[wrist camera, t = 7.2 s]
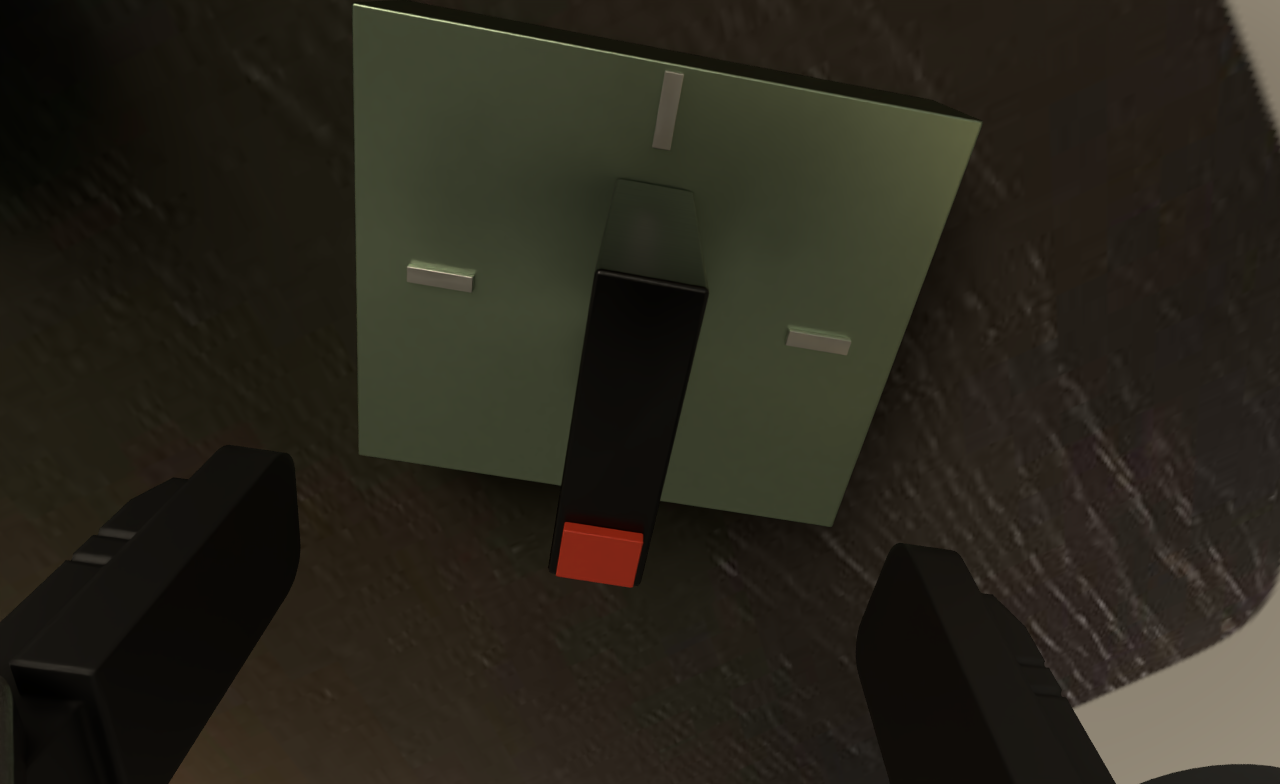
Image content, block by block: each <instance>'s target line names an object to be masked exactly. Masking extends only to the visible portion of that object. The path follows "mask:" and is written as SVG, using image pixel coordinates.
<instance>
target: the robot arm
mask: <svg viewBox="0 0 1280 784" xmlns="http://www.w3.org/2000/svg"><path fill="white" fill-rule="evenodd" d="M299 558H300V532H299V518H298V505H297V491H296V478H295V467H294V462H293V459H292V457H291V456H290V455H289V454H287V453H282V452H275V451H268V450H261V449H254V448H247V447H240V446H233V445H226V446H223V447H221V448H220V449H219V450H218V451H216V452H215V453H214V454H213V456H212V457H211V458H210V459H209V460H208V461H207V462H206V463H205V464H204V465H203V466H202V467H201V468H200V469H199V470H198V471H197V472H196V473H195V474H194V475H193V476H192V477H191V478H190V479H189V480H188V479H181V478H172V479H170V480H168V481H166V482H164V483H162V484H160V485H158V486H156V487H154V488H152V489H150V490H148V491H147V492H145V493H143V494H141V495H139V496H137V497H135V498H133V499H131V500H130V501H129V502H128V503H127V504H126V505H124V506H123V507H122V508H121V509H120V510H119V511H118V512H117V513H116V514H115V515H114V516H113V517H112V518H111V519H110V520H108V521H107V522H106V523H105V524H104V525H103V526H102V527H101V528H100V529H99V534H98V535H93V536H91V537H90V538H89V539H88V540H87V541H86V542H85V543H84V544H83V545H82V546H81V547H80V548H79V549H78V550H77V551H76V552H74V553H73V558H72V560H71V561H67V560H66V561H65V562H64V563H63V564H62V565H61V566H60V567H59V568H57V569H56V570H55V571H54V572H53V573H52V574H51V575H50V576H49V577H48V578H47V579H46V580H45V581H44V582H43V583H42V584H40V585H39V586H38V587H37V588H36V589H35V590H34V591H33V592H32V593H31V594H30V595H29V596H28V597H27V598H26V599H25V600H23V601H22V602H21V603H20V604H19V605H18V606H17V607H16V608H15V609H14V610H13V611H12V612H11V613H10V614H9V615H8V616H6V617H5V618H4V619H3V620H2V621H1V622H0V784H168V783H169V782H170V780H171V778H172V777H173V775H174V774H175V772H176V771H177V769H178V767H179V766H180V764H181V763H182V761H183V759H184V758H185V756H186V755H187V753H188V752H189V750H190V748H191V747H192V745H193V744H194V742H195V740H196V739H197V737H198V736H199V734H200V732H201V731H202V729H203V728H204V726H205V725H206V723H207V721H208V720H209V718H210V717H211V715H212V713H213V712H214V710H215V709H216V707H217V705H218V704H219V702H220V701H221V699H222V698H223V696H224V694H225V693H226V691H227V690H228V688H229V686H230V685H231V683H232V682H233V680H234V679H235V677H236V675H237V674H238V672H239V671H240V669H241V667H242V666H243V664H244V663H245V661H246V659H247V658H248V656H249V655H250V653H251V652H252V650H253V648H254V647H255V645H256V644H257V642H258V640H259V639H260V637H261V636H262V634H263V632H264V631H265V629H266V628H267V626H268V625H269V623H270V621H271V620H272V618H273V617H274V615H275V613H276V612H277V610H278V609H279V607H280V605H281V604H282V602H283V601H284V599H285V598H286V596H287V594H288V592H289V591H290V588H291V586H292V584H293V581H294V579H295V576H296V572H297V568H298V564H299ZM1044 662H1045V660H1044V659H1043V657H1042V655H1041V653H1040V652H1039V650H1038V648H1037V646H1036V645H1035V643H1034V641H1033V640H1032V638H1031V636H1030V634H1029V633H1028V631H1027V629H1026V627H1025V626H1024V625H1023V624H1022V623H1021V622H1020V621H1019V620H1018V619H1017V618H1016V617H1015V616H1014V615H1013V614H1012V613H1011V612H1010V611H1009V610H1008V609H1007V608H1006V607H1005V606H1004V605H1003V604H1002V603H1001V602H1000V601H998V600H997V599H996V598H995V597H994V596H993V595H990V594H983V593H980V591H979V589H978V587H977V585H976V583H975V581H974V580H973V578H972V576H971V574H970V572H969V570H968V568H967V566H966V565H965V563H964V561H963V559H962V558H961V556H960V555H959V554H958V553H957V552H955V551H952V550H945V549H938V548H931V547H924V546H917V545H910V544H903V543H898V544H896V545H894V546H893V547H892V549H891V550H890V552H889V554H888V556H887V558H886V561H885V563H884V566H883V568H882V571H881V573H880V576H879V578H878V581H877V583H876V586H875V588H874V591H873V593H872V596H871V598H870V601H869V603H868V606H867V608H866V611H865V613H864V615H863V618H862V620H861V623H860V626H859V630H858V634H857V641H856V663H857V670H858V674H859V678H860V681H861V684H862V688H863V691H864V695H865V698H866V702H867V705H868V709H869V712H870V715H871V719H872V722H873V726H874V729H875V733H876V736H877V739H878V743H879V746H880V750H881V753H882V757H883V760H884V764H885V767H886V770H887V774H888V777H889V781H890V784H1116V783H1115V781H1114V780H1113V778H1112V776H1111V774H1110V773H1109V771H1108V769H1107V768H1106V766H1105V764H1104V763H1103V761H1102V759H1101V757H1100V755H1099V754H1098V752H1097V750H1096V748H1095V747H1094V745H1093V743H1092V742H1091V740H1090V738H1089V736H1088V735H1087V733H1086V731H1085V730H1084V728H1083V726H1082V724H1081V723H1080V721H1079V719H1078V717H1077V716H1076V714H1075V712H1074V710H1073V709H1072V707H1071V705H1070V704H1069V702H1068V700H1067V698H1065V697H1062V696H1061V688H1060V686H1059V684H1058V683H1057V681H1056V679H1055V678H1054V676H1053V674H1052V672H1051V671H1050V669H1049V668H1046V667H1045V666H1044Z"/></svg>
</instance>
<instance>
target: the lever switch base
mask: <svg viewBox="0 0 1280 784" xmlns="http://www.w3.org/2000/svg"><path fill="white" fill-rule="evenodd" d="M352 39H353V109H354V179H355V249H356V319H357V389H358V453H359V455H363V456H369V457H376V458H382V459H389V460H396V461H402V462H409V463H415V464H422V465H428V466H435V467H441V468H448V469H454V470H461V471H468V472H474V473H481V474H487V475H494V476H500V477H507V478H513V479H520V480H526V481H533V482H540V483H546V484H553V485H559V486H561V483H562V476H563V470H564V463H565V457H566V451H567V444H568V438H569V431H570V425H571V419H572V412H573V406H574V399H575V393H576V386H577V380H578V374H579V367H580V361H581V354H582V348H583V342H584V335H585V329H586V322H587V316H588V310H589V303H590V297H591V290H592V284H593V278H594V272H595V267H596V263H597V259H598V254H599V250H600V246H601V241H602V237H603V233H604V228H605V224H606V220H607V216H608V211H609V207H610V203H611V198H612V194H613V190H614V185H615V182H616V180H617V179H624V180H629V181H635V182H640V183H646V184H651V185H656V186H662V187H667V188H672V189H678V190H683V191H689V192H692V193H693V194H694V199H695V206H696V212H697V218H698V224H699V231H700V237H701V243H702V250H703V256H704V262H705V268H706V275H707V281H708V287H709V297H708V302H707V306H706V310H705V314H704V319H703V323H702V327H701V331H700V335H699V340H698V344H697V348H696V352H695V356H694V361H693V365H692V369H691V373H690V377H689V382H688V386H687V390H686V394H685V398H684V403H683V407H682V411H681V415H680V419H679V424H678V428H677V432H676V436H675V441H674V445H673V449H672V453H671V457H670V462H669V466H668V470H667V474H666V478H665V483H664V487H663V491H662V495H661V499H660V501H664V502H670V503H677V504H683V505H690V506H697V507H703V508H710V509H716V510H723V511H729V512H736V513H742V514H749V515H755V516H762V517H769V518H775V519H782V520H788V521H795V522H801V523H808V524H814V525H821V526H827V527H832V526H833V523H834V520H835V517H836V515H837V512H838V509H839V507H840V504H841V501H842V499H843V496H844V493H845V491H846V488H847V485H848V483H849V480H850V477H851V475H852V472H853V469H854V467H855V464H856V461H857V459H858V456H859V453H860V451H861V448H862V445H863V443H864V440H865V437H866V435H867V432H868V429H869V427H870V424H871V421H872V419H873V416H874V413H875V411H876V408H877V405H878V402H879V400H880V397H881V394H882V392H883V389H884V386H885V384H886V381H887V378H888V376H889V373H890V370H891V368H892V365H893V362H894V360H895V357H896V354H897V352H898V349H899V346H900V344H901V341H902V338H903V336H904V333H905V330H906V328H907V325H908V322H909V320H910V317H911V314H912V312H913V309H914V306H915V304H916V301H917V298H918V295H919V293H920V290H921V287H922V285H923V282H924V279H925V277H926V274H927V271H928V269H929V266H930V263H931V261H932V258H933V255H934V253H935V250H936V247H937V245H938V242H939V239H940V237H941V234H942V231H943V229H944V226H945V223H946V221H947V218H948V215H949V213H950V210H951V207H952V205H953V202H954V199H955V197H956V194H957V191H958V188H959V186H960V183H961V180H962V178H963V175H964V172H965V170H966V167H967V164H968V162H969V159H970V156H971V154H972V151H973V148H974V146H975V143H976V140H977V138H978V135H979V132H980V130H981V127H982V124H983V122H982V121H981V120H979V119H976V118H974V117H972V116H969V115H967V114H965V113H962V112H960V111H957V110H955V109H953V108H950V107H948V106H945V105H943V104H941V103H938V102H936V101H934V100H930V99H924V98H919V97H914V96H908V95H903V94H898V93H893V92H887V91H882V90H877V89H872V88H866V87H861V86H856V85H850V84H845V83H840V82H835V81H829V80H824V79H819V78H813V77H808V76H803V75H798V74H792V73H787V72H782V71H777V70H771V69H766V68H761V67H755V66H750V65H745V64H740V63H734V62H729V61H724V60H719V59H713V58H708V57H703V56H697V55H692V54H687V53H682V52H676V51H671V50H666V49H660V48H655V47H650V46H645V45H639V44H634V43H629V42H624V41H618V40H613V39H608V38H602V37H597V36H592V35H587V34H581V33H576V32H571V31H566V30H560V29H555V28H550V27H544V26H539V25H534V24H529V23H523V22H518V21H513V20H507V19H502V18H497V17H492V16H486V15H481V14H476V13H471V12H465V11H460V10H455V9H449V8H444V7H439V6H434V5H428V4H423V3H418V2H412V1H407V0H389V1H371V2H355V3H353V4H352Z"/></svg>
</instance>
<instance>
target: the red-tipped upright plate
mask: <svg viewBox="0 0 1280 784" xmlns="http://www.w3.org/2000/svg"><path fill="white" fill-rule="evenodd" d="M708 297H709V287H708V281H707V275H706V268H705V262H704V256H703V250H702V243H701V237H700V231H699V224H698V218H697V212H696V206H695V199H694V194H693V193H692V192H689V191H683V190H678V189H672V188H667V187H662V186H656V185H651V184H646V183H640V182H635V181H629V180H624V179H617V180H616V182H615V185H614V190H613V194H612V198H611V203H610V207H609V211H608V216H607V220H606V224H605V228H604V233H603V237H602V241H601V246H600V250H599V254H598V259H597V263H596V267H595V272H594V278H593V284H592V290H591V297H590V303H589V310H588V316H587V322H586V329H585V335H584V342H583V348H582V354H581V361H580V367H579V374H578V380H577V386H576V393H575V399H574V406H573V412H572V419H571V425H570V431H569V438H568V444H567V451H566V457H565V463H564V470H563V476H562V483H561V489H560V495H559V502H558V508H557V515H556V521H555V527H554V534H553V540H552V547H551V553H550V560H549V566H548V568H549V572H551V573H554V574H556V576H557V577H564V578H570V579H577V580H584V581H590V582H597V583H603V584H610V585H617V586H623V587H630V588H632V587H633V586H638V585H639V584H640V582H641V579H642V575H643V571H644V567H645V563H646V558H647V554H648V550H649V546H650V542H651V537H652V533H653V529H654V525H655V520H656V516H657V512H658V508H659V504H660V499H661V495H662V491H663V487H664V483H665V478H666V474H667V470H668V466H669V462H670V457H671V453H672V449H673V445H674V441H675V436H676V432H677V428H678V424H679V419H680V415H681V411H682V407H683V403H684V398H685V394H686V390H687V386H688V382H689V377H690V373H691V369H692V365H693V361H694V356H695V352H696V348H697V344H698V340H699V335H700V331H701V327H702V323H703V319H704V314H705V310H706V306H707V302H708Z"/></svg>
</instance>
